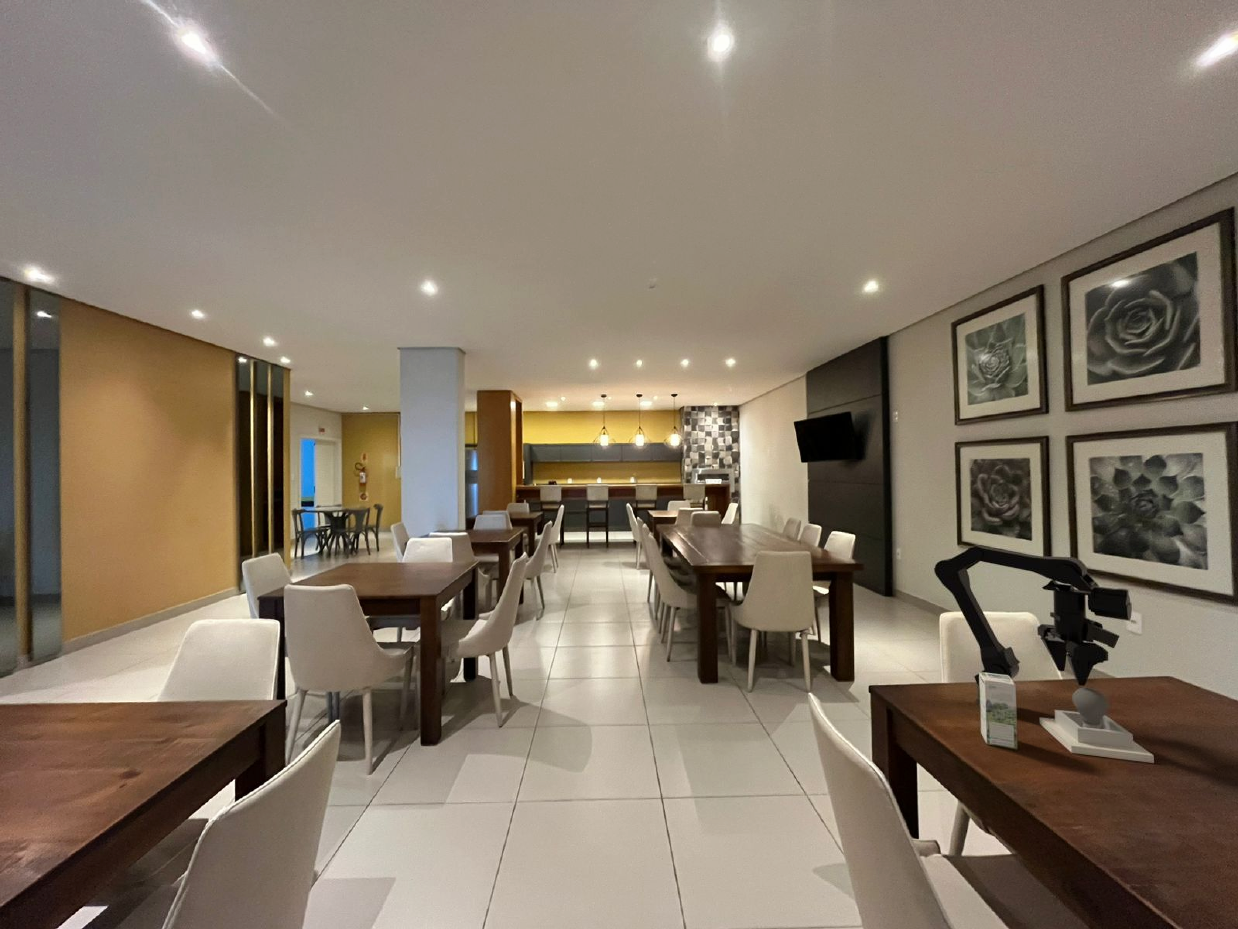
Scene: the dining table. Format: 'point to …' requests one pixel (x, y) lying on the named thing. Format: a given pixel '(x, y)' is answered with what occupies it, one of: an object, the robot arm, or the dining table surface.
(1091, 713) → the light bulb
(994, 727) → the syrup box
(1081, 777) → the dining table surface
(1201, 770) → the dining table surface
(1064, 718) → the socket base
